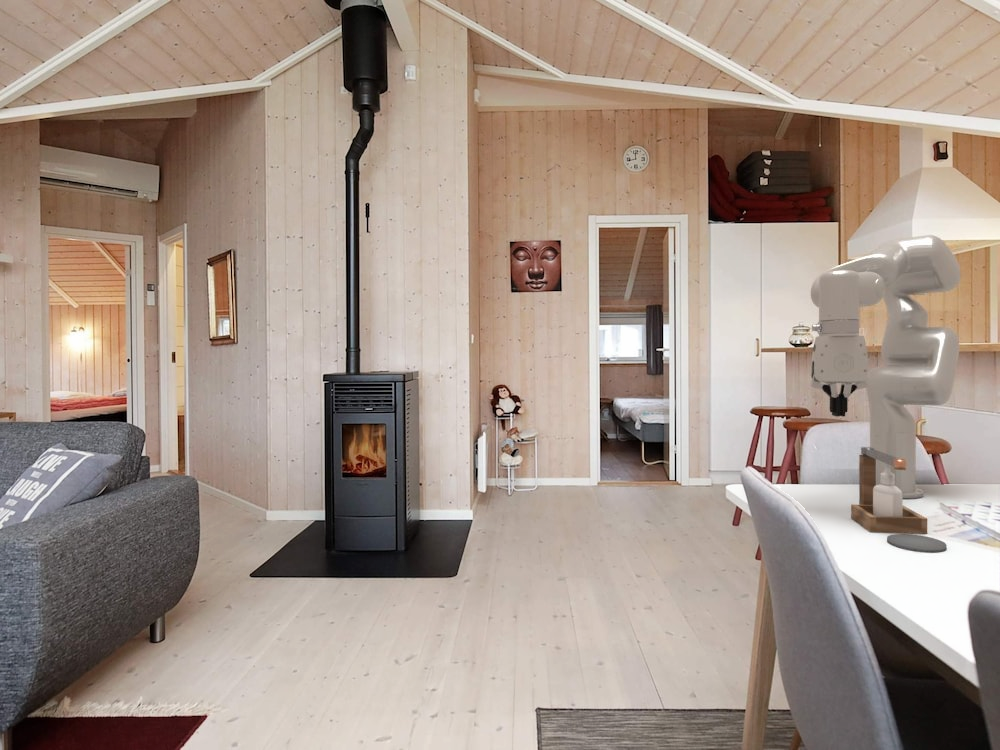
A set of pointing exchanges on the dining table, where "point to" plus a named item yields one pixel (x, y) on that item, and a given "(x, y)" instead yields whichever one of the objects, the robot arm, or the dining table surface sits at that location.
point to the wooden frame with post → (864, 510)
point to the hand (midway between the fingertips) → (838, 415)
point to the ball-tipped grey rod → (884, 458)
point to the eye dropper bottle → (887, 496)
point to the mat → (916, 543)
